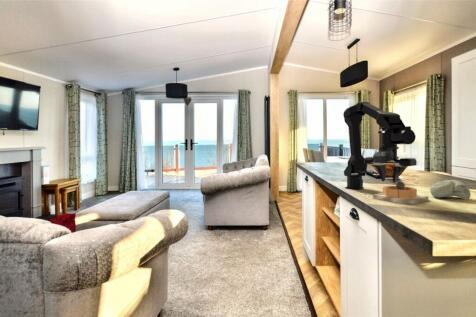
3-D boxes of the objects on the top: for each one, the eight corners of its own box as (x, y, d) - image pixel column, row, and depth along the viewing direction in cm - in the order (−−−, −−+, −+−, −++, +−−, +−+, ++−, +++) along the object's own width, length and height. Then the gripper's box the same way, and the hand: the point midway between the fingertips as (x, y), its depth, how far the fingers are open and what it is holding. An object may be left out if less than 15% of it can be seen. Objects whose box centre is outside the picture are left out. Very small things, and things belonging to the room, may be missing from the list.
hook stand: (373, 198, 114) (373, 181, 114) (389, 194, 122) (389, 178, 121) (412, 205, 102) (413, 186, 102) (428, 200, 109) (428, 182, 109)
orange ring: (378, 195, 114) (378, 187, 113) (392, 191, 120) (392, 184, 120) (407, 199, 105) (407, 191, 104) (420, 195, 111) (420, 188, 111)
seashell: (435, 181, 109) (429, 175, 118) (432, 200, 111) (425, 192, 120) (475, 185, 105) (465, 178, 114) (471, 205, 106) (461, 197, 115)
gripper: (356, 144, 117) (356, 181, 118) (403, 144, 102) (402, 187, 103) (371, 144, 124) (371, 179, 125) (417, 144, 108) (416, 183, 109)
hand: (388, 182), depth 115 cm, fingers open, 4 cm apart
